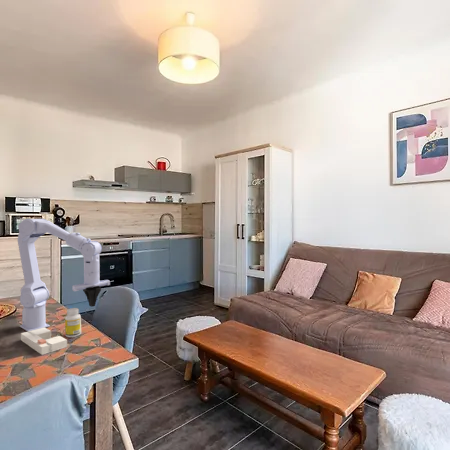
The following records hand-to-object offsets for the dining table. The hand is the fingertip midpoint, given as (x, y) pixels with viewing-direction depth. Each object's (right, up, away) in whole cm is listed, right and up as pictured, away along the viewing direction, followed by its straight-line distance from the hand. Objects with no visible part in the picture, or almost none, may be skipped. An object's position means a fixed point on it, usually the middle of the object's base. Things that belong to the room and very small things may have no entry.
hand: (92, 305), depth 124 cm
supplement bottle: (-5, -10, -6) cm, 12 cm away
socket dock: (-11, -10, -14) cm, 20 cm away
